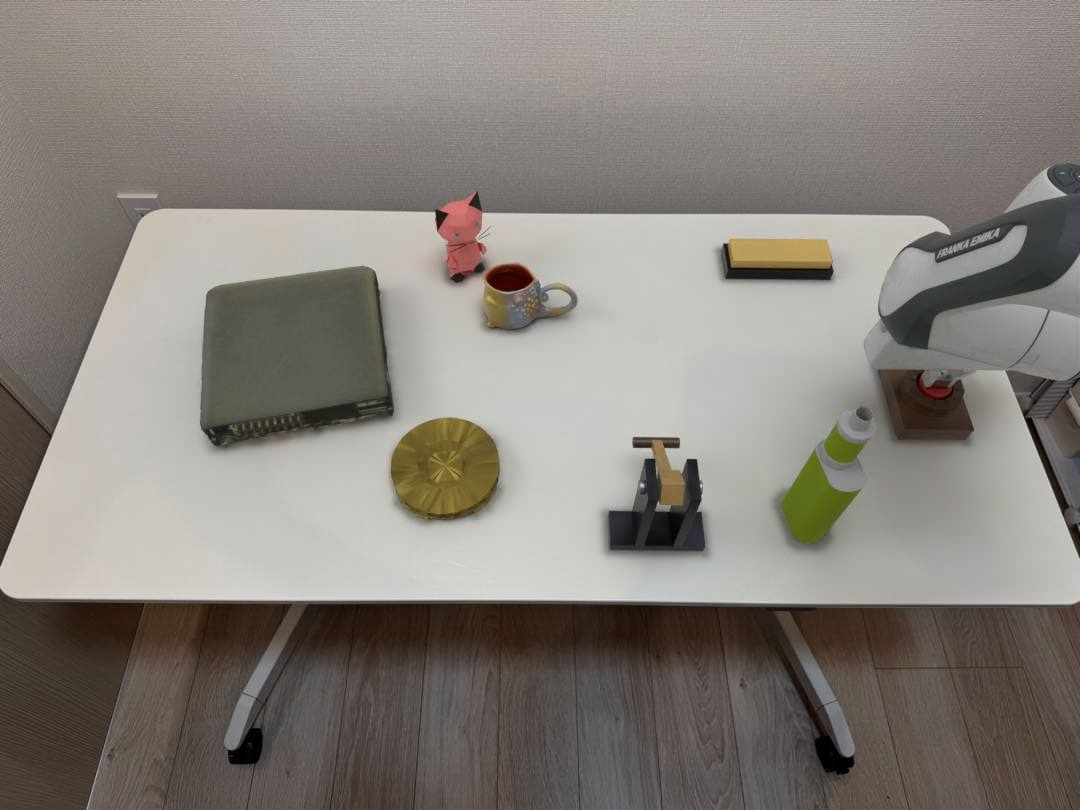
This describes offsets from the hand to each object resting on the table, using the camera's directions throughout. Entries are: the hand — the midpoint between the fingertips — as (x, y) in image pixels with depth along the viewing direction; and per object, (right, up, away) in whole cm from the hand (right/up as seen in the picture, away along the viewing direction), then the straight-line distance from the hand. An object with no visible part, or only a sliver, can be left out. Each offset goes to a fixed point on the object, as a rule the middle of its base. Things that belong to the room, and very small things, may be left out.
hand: (935, 382), depth 88 cm
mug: (-47, +9, +11) cm, 49 cm away
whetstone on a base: (-14, +16, +15) cm, 26 cm away
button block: (0, -2, +4) cm, 4 cm away
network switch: (-75, +2, +7) cm, 75 cm away
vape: (-17, -15, -4) cm, 23 cm away
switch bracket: (-33, -16, -5) cm, 37 cm away
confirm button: (0, -1, +1) cm, 2 cm away
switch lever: (-33, -10, -10) cm, 36 cm away
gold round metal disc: (-56, -10, -2) cm, 57 cm away
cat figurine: (-56, +16, +15) cm, 60 cm away
